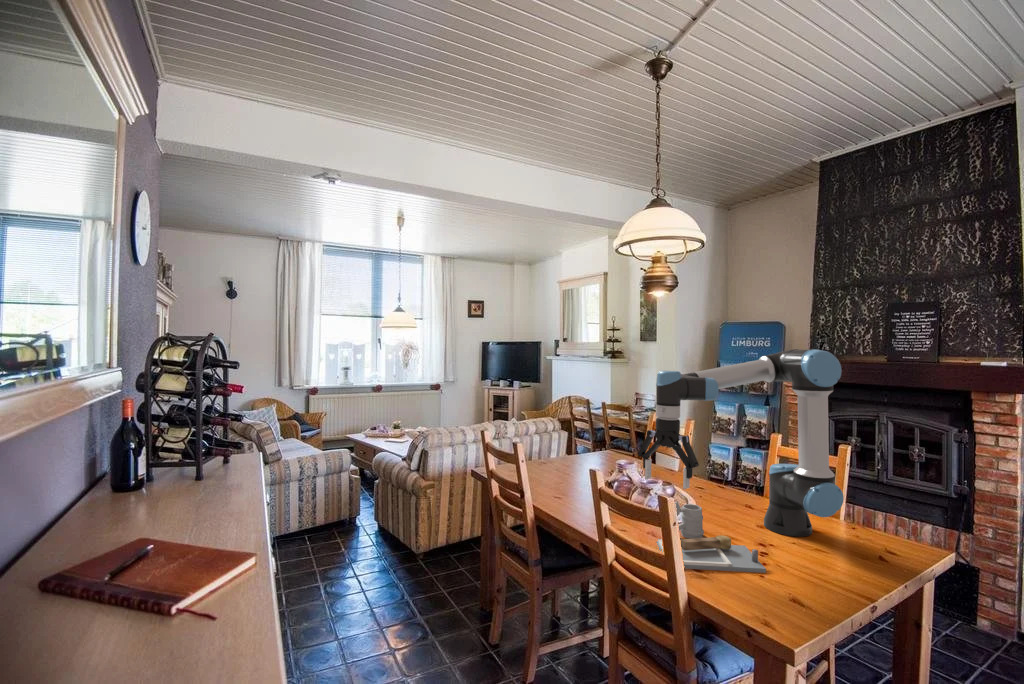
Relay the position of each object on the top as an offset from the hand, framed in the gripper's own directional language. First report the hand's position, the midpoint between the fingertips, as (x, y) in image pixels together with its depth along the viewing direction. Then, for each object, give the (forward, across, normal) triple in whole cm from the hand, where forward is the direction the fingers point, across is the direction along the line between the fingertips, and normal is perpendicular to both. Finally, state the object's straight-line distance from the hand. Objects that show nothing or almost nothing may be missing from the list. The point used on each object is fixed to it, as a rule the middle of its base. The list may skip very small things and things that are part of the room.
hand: (666, 483), depth 157 cm
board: (+21, +13, +2) cm, 25 cm away
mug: (+21, 0, +14) cm, 25 cm away
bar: (+18, +12, +5) cm, 22 cm away
